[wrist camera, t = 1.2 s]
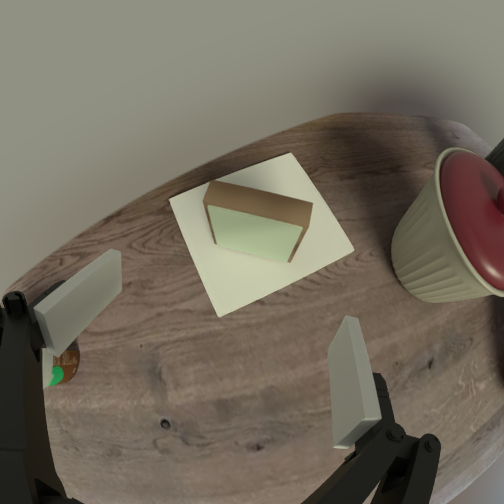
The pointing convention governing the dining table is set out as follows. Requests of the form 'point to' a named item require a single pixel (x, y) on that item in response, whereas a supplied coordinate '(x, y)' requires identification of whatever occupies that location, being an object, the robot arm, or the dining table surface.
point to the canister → (453, 232)
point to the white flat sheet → (250, 265)
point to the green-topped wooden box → (256, 220)
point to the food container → (59, 367)
